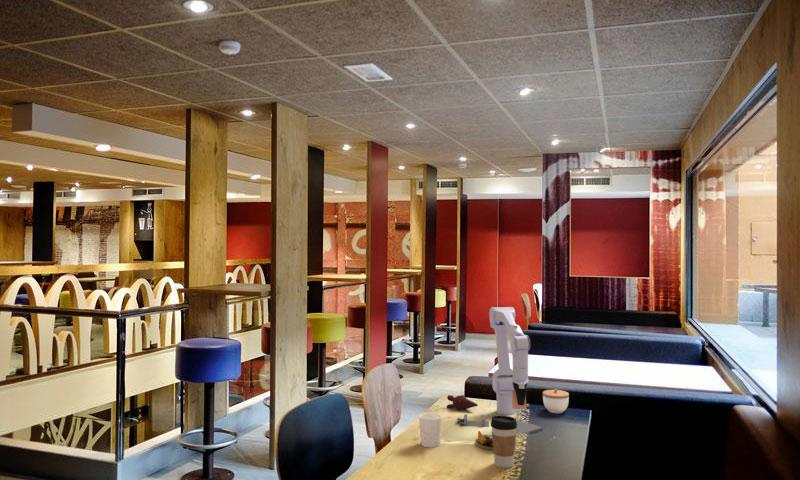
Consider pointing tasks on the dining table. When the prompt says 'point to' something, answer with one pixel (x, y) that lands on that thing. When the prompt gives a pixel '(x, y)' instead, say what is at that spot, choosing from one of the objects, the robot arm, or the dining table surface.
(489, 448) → the toy sandwich meal
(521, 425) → the mat
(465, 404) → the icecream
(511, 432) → the coffee cup
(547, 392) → the lidded jar
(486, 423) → the vise
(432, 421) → the white cup
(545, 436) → the dining table surface
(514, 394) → the block
